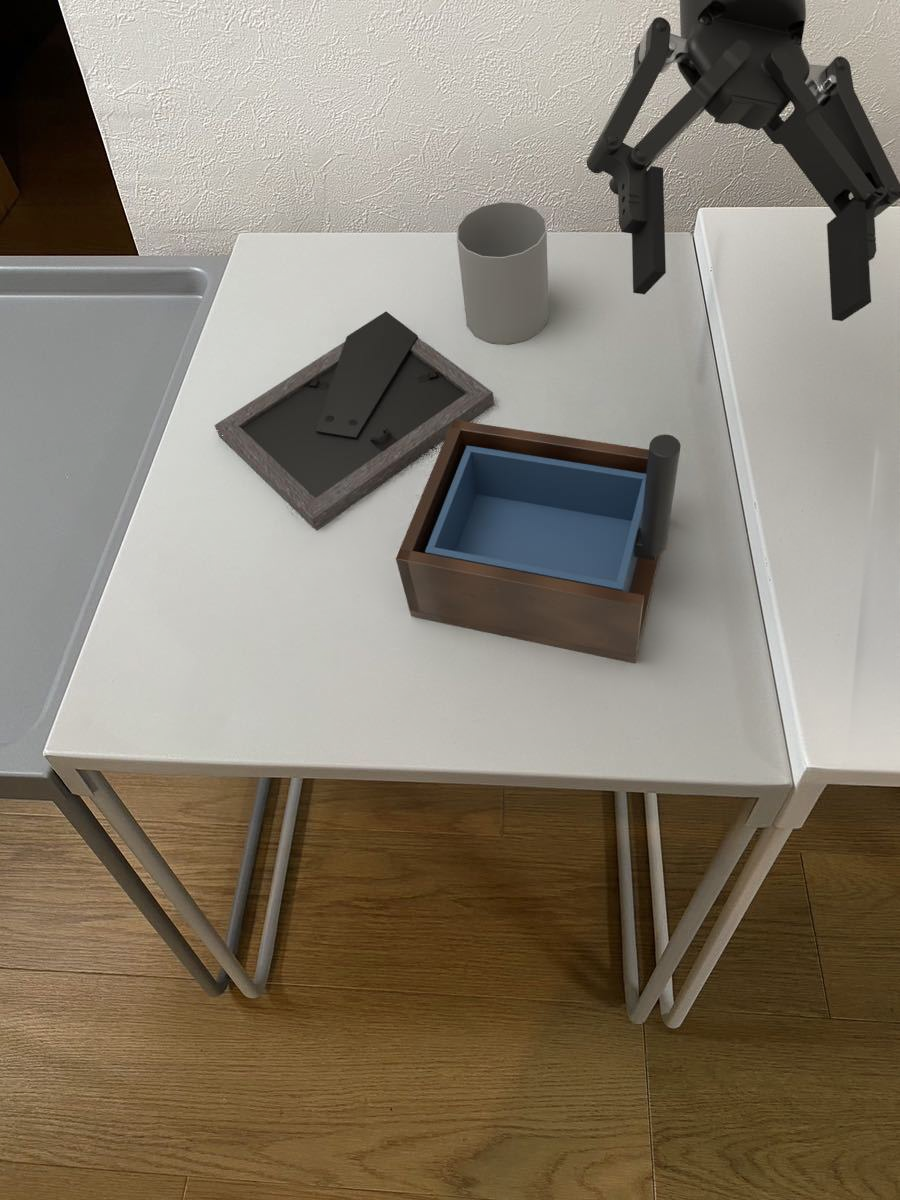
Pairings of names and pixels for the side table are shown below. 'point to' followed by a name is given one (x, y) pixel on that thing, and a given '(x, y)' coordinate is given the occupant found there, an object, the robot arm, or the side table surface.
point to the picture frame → (353, 418)
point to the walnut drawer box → (515, 596)
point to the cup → (504, 271)
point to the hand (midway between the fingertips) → (753, 298)
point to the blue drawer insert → (558, 514)
